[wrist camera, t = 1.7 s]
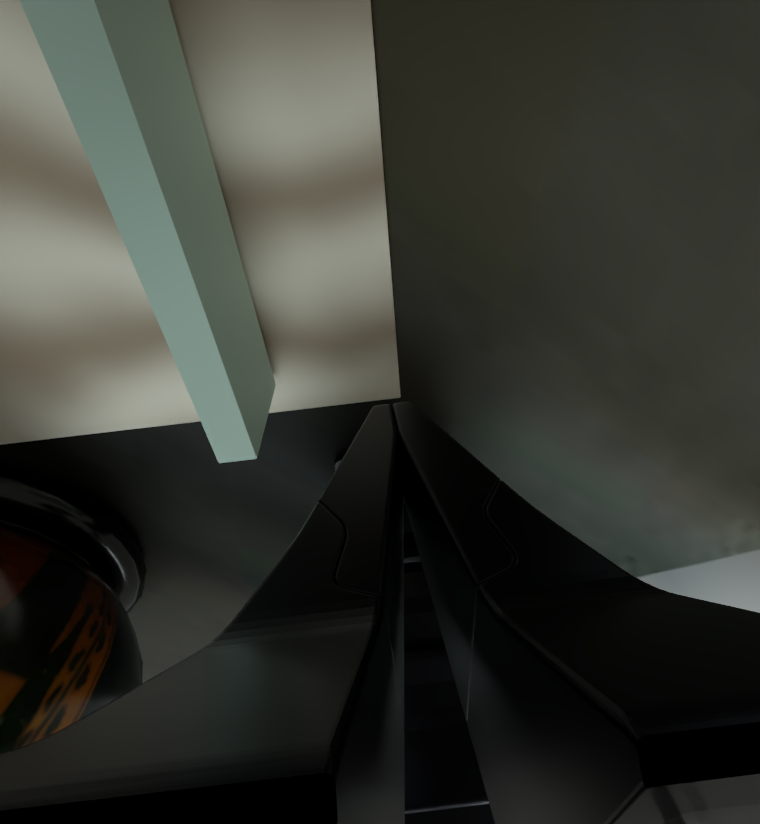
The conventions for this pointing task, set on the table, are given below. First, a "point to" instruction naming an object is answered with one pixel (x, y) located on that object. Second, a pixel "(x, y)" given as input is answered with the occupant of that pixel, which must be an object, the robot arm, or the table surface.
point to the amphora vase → (62, 609)
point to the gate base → (247, 209)
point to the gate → (164, 200)
